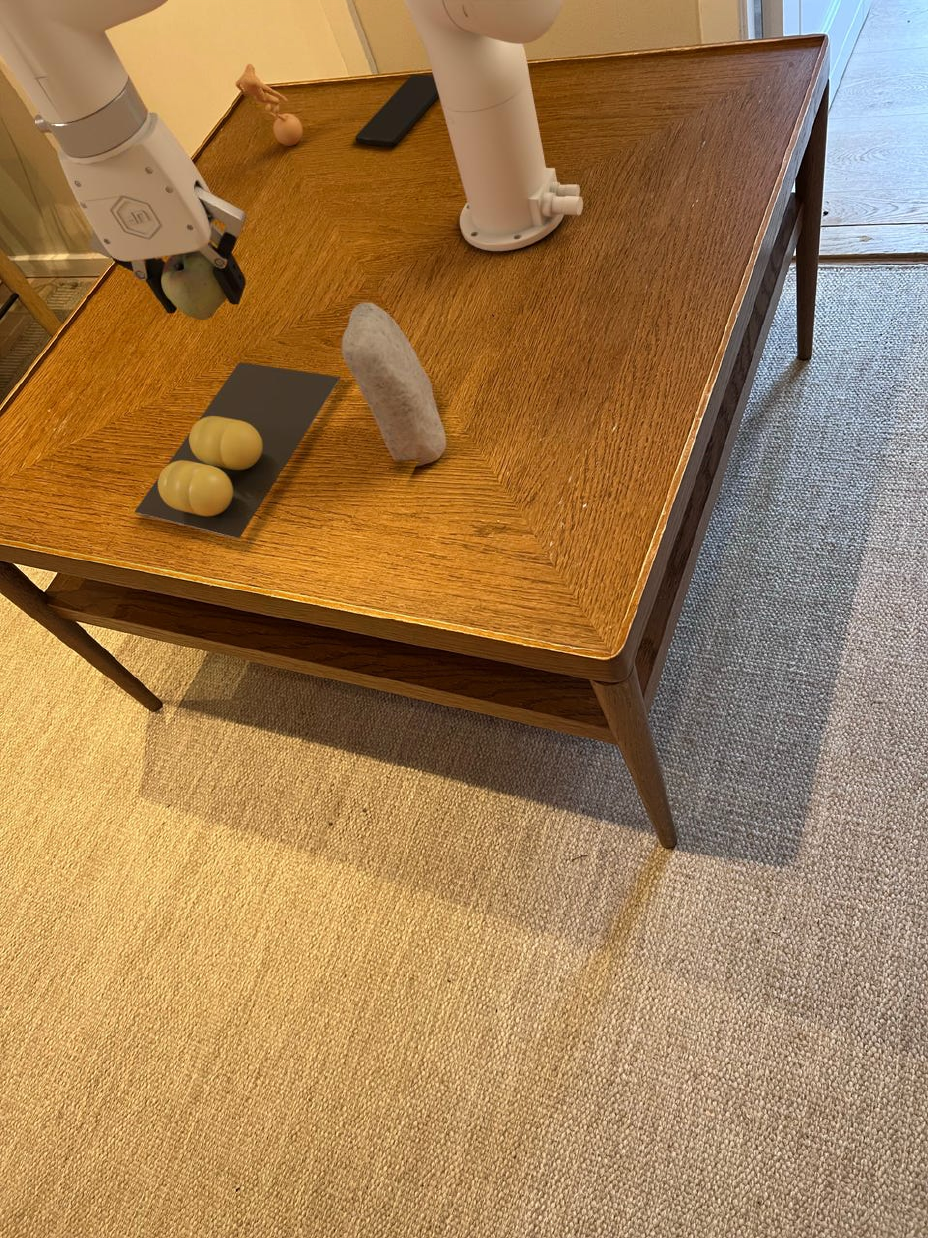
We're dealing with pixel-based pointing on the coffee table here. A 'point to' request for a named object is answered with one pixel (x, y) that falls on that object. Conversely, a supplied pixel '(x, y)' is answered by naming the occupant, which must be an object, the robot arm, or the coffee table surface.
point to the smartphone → (400, 112)
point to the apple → (192, 285)
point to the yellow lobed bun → (225, 443)
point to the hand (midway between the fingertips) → (206, 297)
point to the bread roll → (195, 488)
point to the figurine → (285, 124)
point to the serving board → (281, 418)
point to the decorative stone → (393, 385)
